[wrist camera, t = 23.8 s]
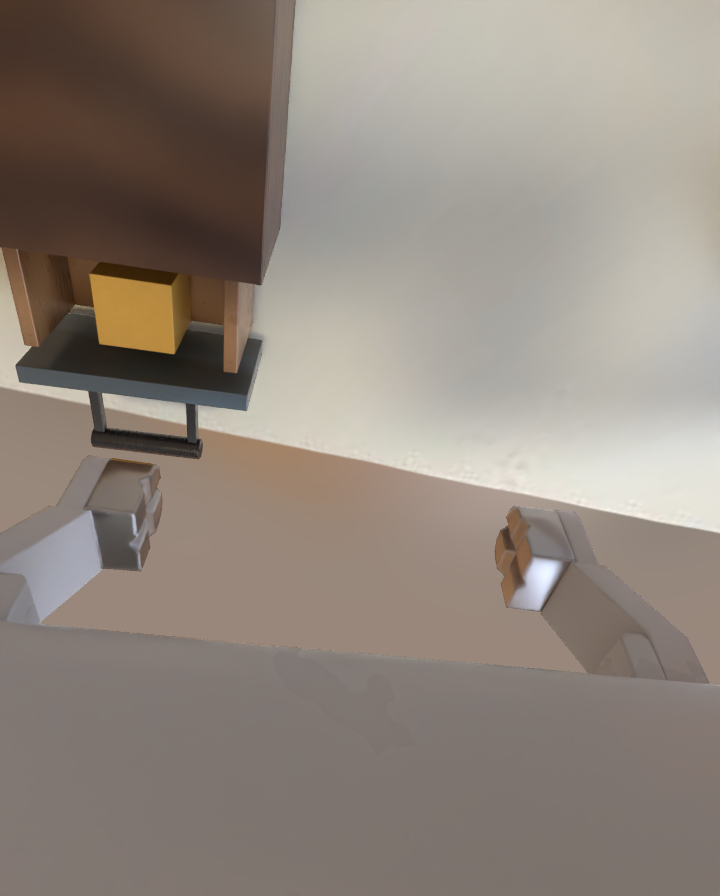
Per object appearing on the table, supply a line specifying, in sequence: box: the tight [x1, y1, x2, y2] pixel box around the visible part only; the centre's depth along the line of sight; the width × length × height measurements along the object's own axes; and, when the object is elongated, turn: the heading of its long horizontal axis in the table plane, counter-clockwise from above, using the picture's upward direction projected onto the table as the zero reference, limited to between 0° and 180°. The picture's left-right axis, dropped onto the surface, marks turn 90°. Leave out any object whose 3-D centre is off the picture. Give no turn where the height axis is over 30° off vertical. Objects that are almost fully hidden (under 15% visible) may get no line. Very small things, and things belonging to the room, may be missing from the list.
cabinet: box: [0, 0, 296, 285], centre depth 27 cm, size 16×15×9 cm
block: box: [89, 262, 191, 354], centre depth 35 cm, size 4×4×4 cm
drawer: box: [2, 247, 263, 459], centre depth 35 cm, size 20×13×7 cm
